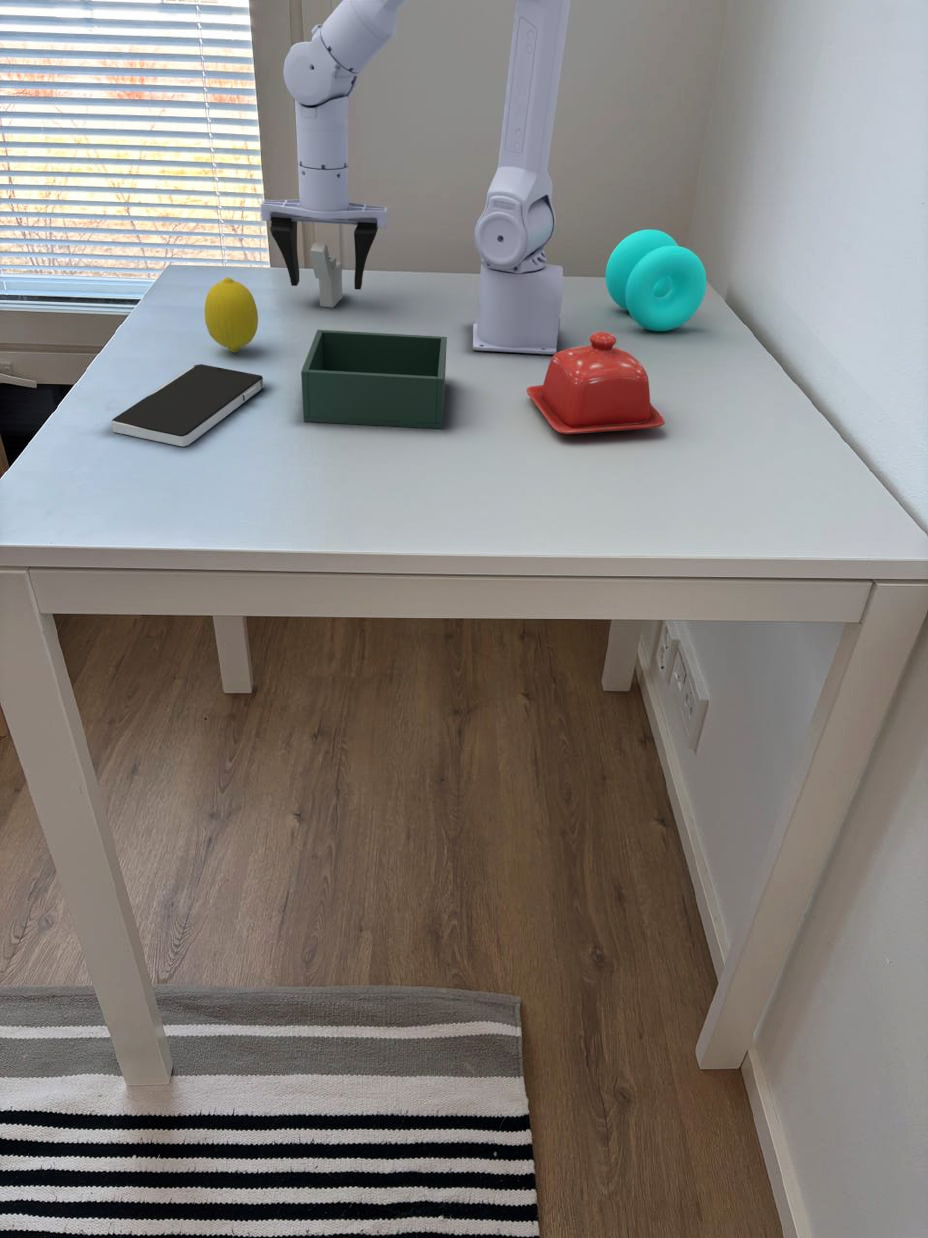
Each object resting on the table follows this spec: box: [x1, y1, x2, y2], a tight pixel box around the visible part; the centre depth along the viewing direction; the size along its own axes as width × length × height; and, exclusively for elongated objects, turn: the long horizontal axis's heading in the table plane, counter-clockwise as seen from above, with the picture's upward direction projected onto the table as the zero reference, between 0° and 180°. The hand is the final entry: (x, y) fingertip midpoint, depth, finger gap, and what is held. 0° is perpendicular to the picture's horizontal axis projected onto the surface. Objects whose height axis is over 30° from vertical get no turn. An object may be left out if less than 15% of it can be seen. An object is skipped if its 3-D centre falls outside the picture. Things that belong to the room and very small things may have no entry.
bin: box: [300, 329, 448, 430], centre depth 94 cm, size 13×11×5 cm
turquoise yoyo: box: [605, 229, 707, 332], centre depth 117 cm, size 10×10×10 cm
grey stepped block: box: [309, 242, 343, 309], centre depth 116 cm, size 7×2×8 cm, turn 169°
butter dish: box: [525, 331, 666, 435], centre depth 93 cm, size 12×12×8 cm
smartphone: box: [111, 363, 265, 447], centre depth 92 cm, size 8×1×15 cm
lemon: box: [203, 277, 259, 353], centre depth 102 cm, size 6×6×8 cm
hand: (326, 285), depth 117 cm, fingers open, 7 cm apart
